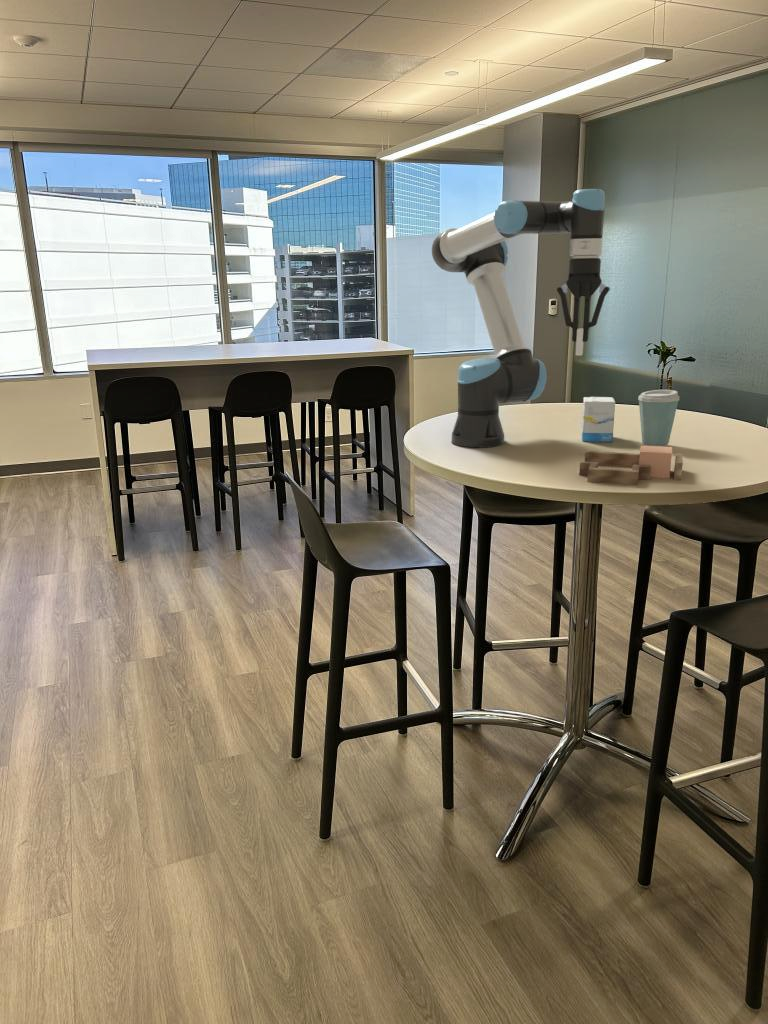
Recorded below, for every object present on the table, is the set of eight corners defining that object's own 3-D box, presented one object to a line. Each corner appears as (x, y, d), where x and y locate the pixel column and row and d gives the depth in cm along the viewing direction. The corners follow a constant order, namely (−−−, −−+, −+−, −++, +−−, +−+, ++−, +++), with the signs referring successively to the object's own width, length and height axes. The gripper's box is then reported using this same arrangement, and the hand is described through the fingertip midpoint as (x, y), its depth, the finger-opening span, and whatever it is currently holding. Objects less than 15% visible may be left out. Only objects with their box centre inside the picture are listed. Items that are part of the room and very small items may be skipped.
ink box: (612, 442, 212) (615, 401, 209) (582, 441, 214) (584, 401, 210) (610, 436, 220) (613, 396, 217) (580, 435, 222) (582, 396, 218)
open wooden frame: (576, 480, 174) (577, 464, 173) (585, 462, 191) (586, 446, 190) (681, 488, 167) (682, 470, 165) (680, 468, 183) (682, 452, 182)
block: (637, 476, 177) (639, 451, 175) (639, 469, 183) (641, 445, 182) (669, 478, 175) (671, 453, 173) (669, 471, 181) (671, 447, 179)
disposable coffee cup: (649, 451, 201) (654, 395, 196) (626, 443, 211) (630, 389, 206) (683, 447, 204) (688, 392, 199) (658, 440, 213) (663, 387, 209)
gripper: (556, 258, 183) (551, 355, 190) (611, 256, 179) (604, 357, 186) (560, 258, 190) (555, 352, 197) (614, 257, 185) (606, 353, 193)
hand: (579, 354), depth 192 cm, fingers closed
